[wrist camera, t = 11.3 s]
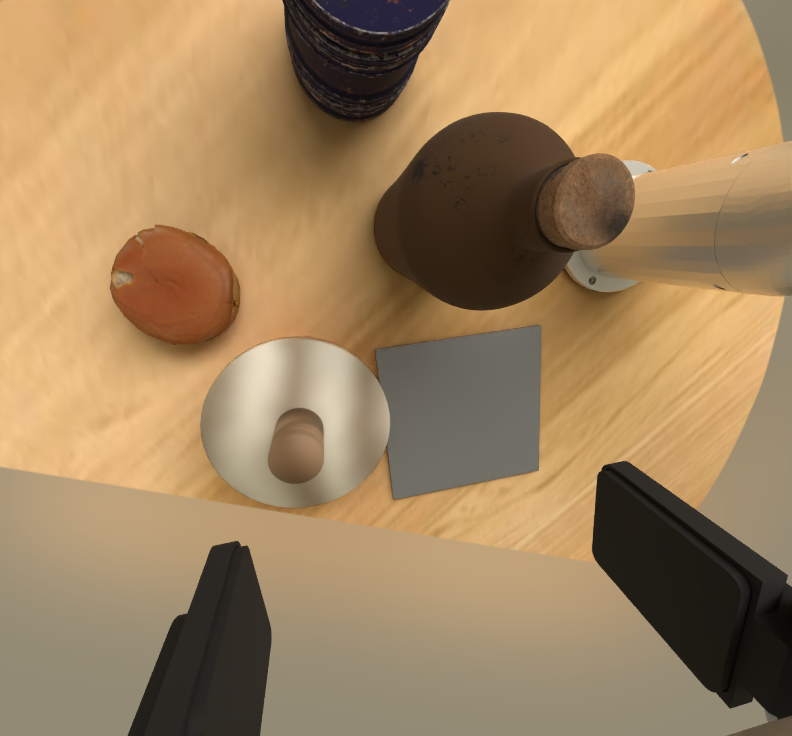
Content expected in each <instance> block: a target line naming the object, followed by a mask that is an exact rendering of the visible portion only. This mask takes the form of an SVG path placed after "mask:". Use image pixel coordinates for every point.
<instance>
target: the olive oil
mask: <svg viewBox="0 0 792 736" xmlns="http://www.w3.org/2000/svg"><path fill="white" fill-rule="evenodd" d="M634 203H635V186H634V181H633V178H632V175H631V173H630V171H629V169H628V168H627V167H626V165H625V164H624V163H623V162H622V161H621V160H619V159H618V158H616V157H614V156H612V155H608V154H592V155H588V156H585V157H582V158H580V157H575V156H574V154H573V152H572V151H571V149H570V148H569V146H568V145H567V144H566V143H565V141H564V140H563V139H562V138H561V137H560V136H559V135H558V134H557V133H556V132H555V131H553V130H552V129H551V128H549V127H548V126H547V125H545V124H543V123H541V122H540V121H537V120H535V119H533V118H530V117H527V116H524V115H520V114H515V113H506V112H489V113H481V114H476V115H472V116H469V117H466V118H463V119H460V120H458V121H456V122H454V123H452V124H450V125H448V126H447V127H445V128H444V129H442V130H441V131H439V132H438V133H437V134H435V135H434V136H433V137H432V138H431V139H430V140H429V141H428V142H427V143H426V144H425V145H424V146H423V147H422V148H421V149H420V150H419V152H418V153H417V154H416V156H415V157H414V158H413V160H412V161H411V162H410V164H409V165H408V166H407V168H406V169H405V170H404V172H403V173H402V174H401V176H400V177H399V178H398V179H397V181H396V182H395V183H394V184H393V185H392V186H391V187H390V188H389V189H388V190H387V191H386V193H385V194H384V196H383V197H382V199H381V201H380V203H379V205H378V208H377V211H376V215H375V221H374V234H375V240H376V243H377V246H378V249H379V251H380V253H381V255H382V257H383V258H384V260H385V261H386V262H387V263H388V264H389V265H390V266H391V267H392V268H393V269H394V270H395V271H397V272H398V273H400V274H402V275H403V276H405V277H407V278H409V279H410V280H412V281H413V282H415V283H416V284H418V285H419V286H421V287H422V288H423V289H425V290H426V291H427V292H429V293H430V294H432V295H433V296H435V297H436V298H438V299H440V300H441V301H443V302H445V303H448V304H450V305H453V306H456V307H459V308H463V309H469V310H494V309H500V308H504V307H508V306H511V305H514V304H517V303H519V302H522V301H524V300H526V299H528V298H530V297H532V296H534V295H535V294H537V293H538V292H540V291H541V290H543V289H544V288H545V287H547V286H548V285H549V284H550V283H551V282H552V281H553V280H554V279H555V278H556V277H557V276H558V275H559V274H560V273H561V271H562V270H563V269H564V268H565V266H566V265H567V263H568V262H569V260H570V259H571V257H572V255H573V253H574V252H576V251H579V250H594V249H598V248H601V247H603V246H605V245H607V244H609V243H611V242H612V241H613V240H614V239H616V238H617V237H618V236H619V235H620V234H621V232H622V231H623V230H624V228H625V227H626V225H627V224H628V222H629V220H630V217H631V215H632V212H633V208H634Z"/></svg>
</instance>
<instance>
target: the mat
mask: <svg viewBox="0 0 792 736" xmlns="http://www.w3.org/2000/svg"><path fill="white" fill-rule="evenodd" d="M375 354H376V363H377V371H378V379H379V384H380V385H381V387H382V390H383V392H384V395H385V397H386V400H387V403H388V408H389V413H390V431H389V438H388V442H387V452H388V460H389V468H390V476H391V484H392V492H393V499H394V500H395V499H400V498H405V497H410V496H415V495H420V494H425V493H430V492H435V491H440V490H444V489H449V488H454V487H459V486H464V485H469V484H474V483H479V482H484V481H489V480H494V479H499V478H503V477H508V476H513V475H518V474H523V473H528V472H533V471H538V470H539V423H540V369H541V326H540V325H536V326H529V327H522V328H515V329H509V330H502V331H495V332H488V333H482V334H475V335H468V336H461V337H454V338H448V339H441V340H434V341H427V342H420V343H414V344H407V345H400V346H393V347H387V348H380V349H375Z"/></svg>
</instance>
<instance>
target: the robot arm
mask: <svg viewBox="0 0 792 736" xmlns="http://www.w3.org/2000/svg"><path fill="white" fill-rule="evenodd" d="M622 162H623V163H624V164H625V165H626V167H627V168H628V169H629V171H630V173H631V175H632V178H633V181H634V186H635V203H634V208H633V212H632V215H631V217H630V220H629V222H628V224H627V225H626V227H625V228H624V230H623V231H622V232H621V234H620V235H619V236H618V237H617V238H616V239H614V240H613V241H612V242H611V243H609V244H607V245H605V246H603V247H601V248H598V249H594V250H579V251H576V252H574V253H573V255H572V257H571V259H570V260H569V262H568V263H567V265H566V266H565V269H566V271H567V273H568V274H569V275H570V276H571V278H572V279H573V280H574V281H576V282H577V283H578V284H580V285H581V286H583V287H585V288H587V289H590V290H594V291H599V292H616V291H621V290H624V289H627V288H630V287H631V286H633V285H635V284H637V283H638V282H640V281H643V282H652V283H660V284H669V285H677V286H686V287H694V288H703V289H711V290H720V291H728V292H737V293H745V294H756V295H765V296H792V141H788V142H784V143H781V144H777V145H772V146H767V147H763V148H758V149H754V150H749V151H744V152H740V153H735V154H731V155H726V156H721V157H717V158H712V159H708V160H703V161H698V162H694V163H689V164H685V165H680V166H675V167H671V168H666V169H662V170H656V169H655V168H653V167H651V166H650V165H648V164H646V163H643V162H640V161H636V160H623V161H622ZM592 552H593V555H594V558H595V560H596V561H597V563H598V564H599V565H600V567H601V568H602V569H603V570H604V571H605V572H606V573H607V575H608V576H609V577H610V578H611V579H612V580H613V582H614V583H615V584H616V585H617V586H618V587H619V588H620V590H621V591H622V592H623V593H624V594H625V595H626V597H627V598H628V599H629V600H630V601H631V602H632V603H633V605H634V606H635V607H636V608H637V609H638V610H639V611H640V613H641V614H642V615H643V616H644V617H645V618H646V620H647V621H648V622H649V623H650V624H651V625H652V626H653V628H654V629H655V630H656V631H657V632H658V633H659V635H660V636H661V637H662V638H663V639H664V640H665V641H666V643H667V644H668V645H669V646H670V647H671V649H672V650H673V651H674V652H675V653H676V654H677V655H678V657H679V658H680V659H681V660H682V661H683V662H684V664H685V665H686V666H687V667H688V668H689V669H690V670H691V672H692V673H693V674H694V675H695V676H696V677H697V678H698V680H699V681H700V682H701V683H702V684H703V685H704V686H705V687H706V688H707V689H708V690H710V691H712V692H716V693H717V694H718V695H719V697H720V698H721V699H722V700H723V701H724V702H725V703H726V705H727V706H728V707H729V708H734V707H737V706H740V705H743V704H746V703H749V702H752V700H753V697H754V698H755V699H756V700H757V701H758V702H759V703H760V704H761V706H762V707H763V708H764V709H765V713H766V717H767V721H768V723H766V724H762V725H759V726H756V727H753V728H750V729H747V730H743V731H741V732H737V733H734V734H731V735H728V736H792V587H791V586H790V585H788V584H787V583H786V580H787V577H788V575H787V574H785V573H784V572H782V571H781V570H780V569H778V568H777V567H775V566H774V565H772V564H771V563H770V562H768V561H767V560H766V559H764V558H763V557H761V556H760V555H759V554H757V553H756V552H754V551H753V550H751V549H750V548H749V547H747V546H746V545H745V544H743V543H742V542H740V541H739V540H737V539H736V538H735V537H733V536H732V535H730V534H729V533H728V532H726V531H725V530H723V529H722V528H720V527H719V526H718V525H716V524H715V523H714V522H712V521H711V520H709V519H708V518H707V517H705V516H704V515H702V514H701V513H700V512H698V511H697V510H695V509H694V508H693V507H691V506H690V505H688V504H687V503H685V502H684V501H683V500H681V499H680V498H678V497H677V496H676V495H674V494H673V493H671V492H670V491H669V490H667V489H666V488H664V487H663V486H662V485H660V484H659V483H657V482H656V481H654V480H653V479H652V478H650V477H649V476H647V475H646V474H645V473H643V472H642V471H640V470H639V469H638V468H636V467H635V466H633V465H632V464H631V463H629V462H627V461H622V462H617V463H612V464H607V465H604V466H603V468H602V470H601V472H599V473H598V476H597V489H596V502H595V515H594V529H593V542H592ZM270 649H271V626H270V622H269V619H268V615H267V611H266V608H265V604H264V601H263V597H262V594H261V590H260V586H259V583H258V579H257V575H256V572H255V569H254V565H253V561H252V558H251V554H250V550H249V548H248V546H242V547H241V545H240V543H239V542H238V541H235V542H230V543H225V544H220V545H215V546H213V547H212V548H211V550H210V552H209V555H208V558H207V561H206V564H205V566H204V569H203V572H202V575H201V577H200V580H199V583H198V586H197V589H196V591H195V594H194V597H193V600H192V602H191V605H190V608H189V611H188V613H187V614H183V615H179V616H177V617H176V618H175V619H174V621H173V623H172V625H171V627H170V629H169V632H168V634H167V637H166V639H165V642H164V644H163V647H162V649H161V652H160V655H159V657H158V660H157V662H156V665H155V667H154V670H153V672H152V675H151V678H150V680H149V683H148V685H147V688H146V690H145V693H144V695H143V698H142V700H141V703H140V706H139V708H138V711H137V713H136V716H135V718H134V721H133V723H132V726H131V728H130V731H129V734H128V736H260V729H261V722H262V714H263V706H264V698H265V689H266V681H267V673H268V665H269V657H270Z"/></svg>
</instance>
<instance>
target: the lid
mask: <svg viewBox="0 0 792 736" xmlns="http://www.w3.org/2000/svg"><path fill="white" fill-rule="evenodd" d="M389 431H390V413H389V408H388V403H387V400H386V397H385V395H384V392H383V390H382V387H381V385H380V384H379V382H378V380H377V378H376V377H375V375H374V374H373V372H372V371H371V370H370V369H369V367H368V366H367V365H366V364H365V363H364V362H363V361H362V360H360V359H359V358H358V357H357V356H356V355H354V354H353V353H351V352H350V351H348V350H346V349H345V348H343V347H340V346H338V345H336V344H334V343H331V342H328V341H324V340H321V339H316V338H310V337H286V338H279V339H274V340H270V341H267V342H264V343H261V344H258V345H256V346H254V347H252V348H250V349H248V350H246V351H245V352H243V353H242V354H240V355H239V356H237V357H236V358H235V359H234V360H233V361H232V362H230V363H229V364H228V365H227V366H226V367H225V369H224V370H223V371H222V372H221V373H220V375H219V376H218V377H217V378H216V380H215V381H214V383H213V385H212V386H211V388H210V389H209V392H208V394H207V396H206V399H205V401H204V405H203V409H202V413H201V437H202V441H203V446H204V449H205V451H206V454H207V457H208V459H209V460H210V462H211V464H212V466H213V467H214V469H215V470H216V471H217V473H218V474H219V475H220V476H221V477H222V478H223V479H224V480H225V481H226V482H227V483H228V484H229V485H230V486H231V487H233V488H234V489H235V490H237V491H238V492H240V493H242V494H243V495H245V496H247V497H249V498H251V499H253V500H256V501H258V502H261V503H265V504H268V505H273V506H278V507H288V508H300V507H310V506H316V505H320V504H324V503H327V502H330V501H332V500H335V499H338V498H339V497H341V496H343V495H345V494H347V493H349V492H350V491H352V490H353V489H355V488H356V487H357V486H359V485H360V484H361V483H362V482H363V481H364V480H365V479H366V478H367V477H368V476H369V475H370V474H371V473H372V472H373V470H374V469H375V467H376V466H377V465H378V463H379V461H380V459H381V458H382V456H383V454H384V451H385V448H386V446H387V442H388V438H389Z"/></svg>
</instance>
